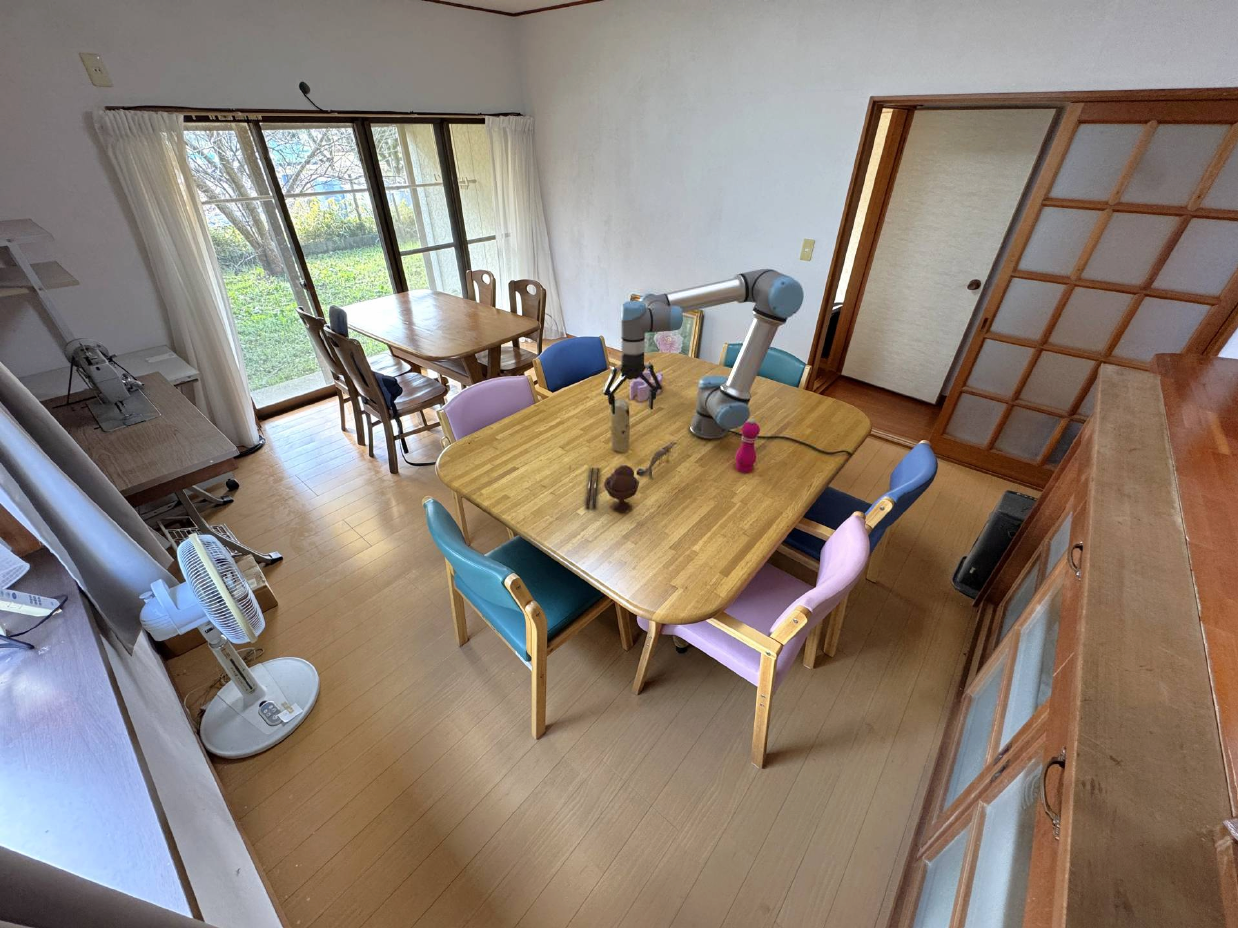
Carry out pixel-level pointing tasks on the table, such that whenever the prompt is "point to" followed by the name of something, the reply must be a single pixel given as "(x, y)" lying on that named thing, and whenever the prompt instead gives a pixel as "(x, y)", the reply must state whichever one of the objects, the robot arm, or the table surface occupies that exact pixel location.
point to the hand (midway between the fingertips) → (632, 410)
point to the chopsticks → (594, 488)
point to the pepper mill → (747, 447)
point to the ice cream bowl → (622, 487)
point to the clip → (643, 386)
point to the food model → (620, 426)
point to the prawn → (656, 459)
